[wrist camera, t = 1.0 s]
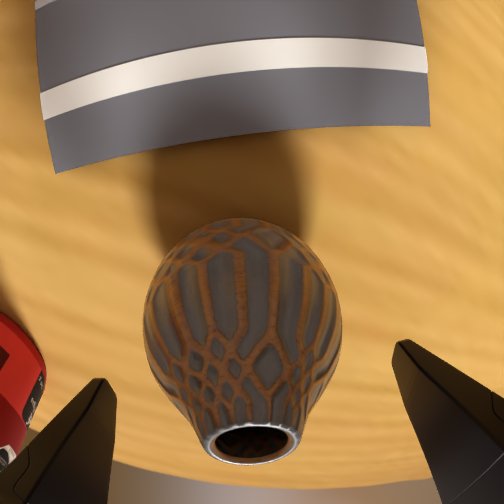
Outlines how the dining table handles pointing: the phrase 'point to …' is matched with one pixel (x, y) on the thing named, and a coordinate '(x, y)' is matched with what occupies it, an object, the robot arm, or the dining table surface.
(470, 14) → the dining table surface
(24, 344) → the canned food
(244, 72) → the mat
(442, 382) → the robot arm
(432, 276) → the dining table surface
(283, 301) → the vase
